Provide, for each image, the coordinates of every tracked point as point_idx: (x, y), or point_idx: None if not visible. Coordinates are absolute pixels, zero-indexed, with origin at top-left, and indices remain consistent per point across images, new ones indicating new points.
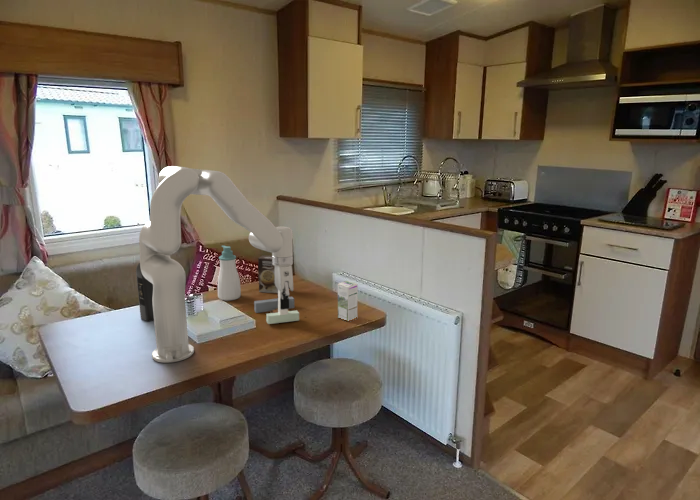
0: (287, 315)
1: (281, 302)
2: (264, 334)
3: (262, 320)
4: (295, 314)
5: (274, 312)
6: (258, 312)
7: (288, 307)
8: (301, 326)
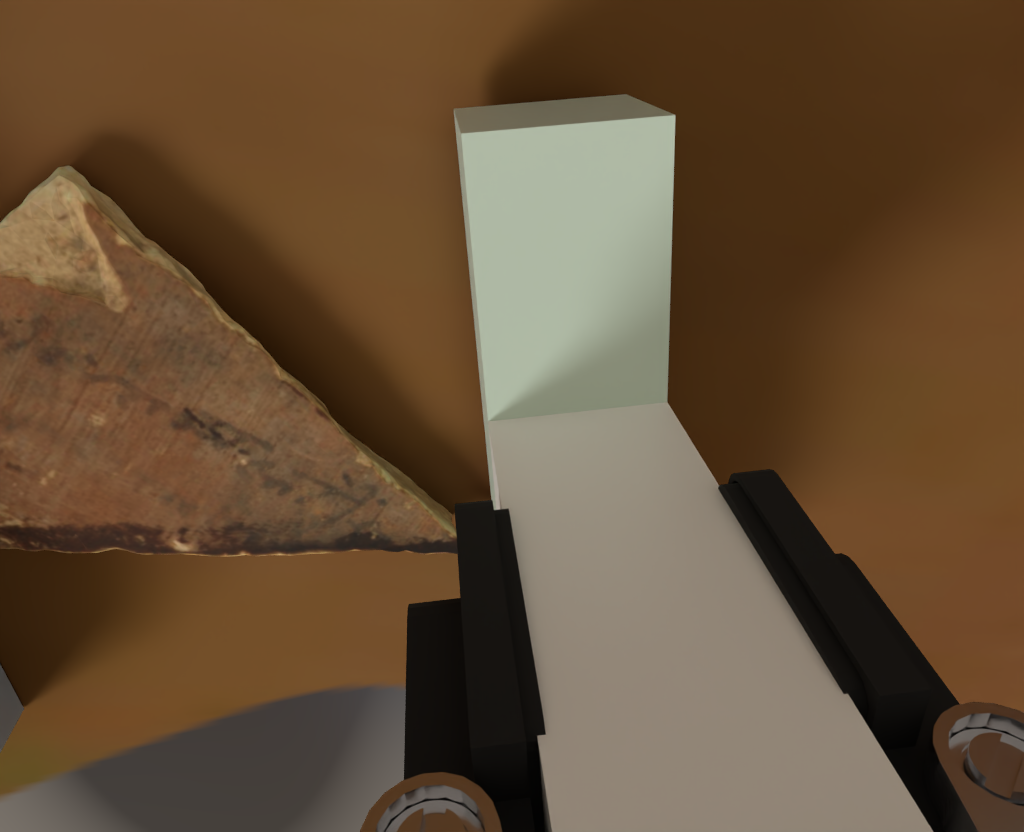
0: (662, 397)
1: None
2: None
3: (367, 645)
4: (663, 214)
5: (135, 507)
6: (6, 682)
7: (776, 491)
8: (872, 102)
